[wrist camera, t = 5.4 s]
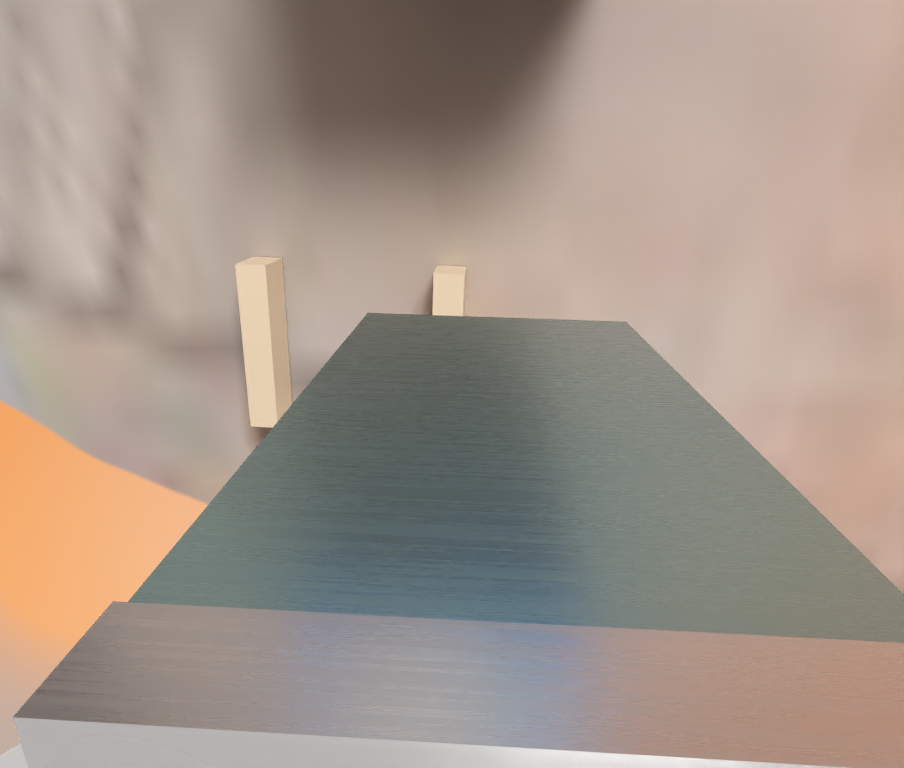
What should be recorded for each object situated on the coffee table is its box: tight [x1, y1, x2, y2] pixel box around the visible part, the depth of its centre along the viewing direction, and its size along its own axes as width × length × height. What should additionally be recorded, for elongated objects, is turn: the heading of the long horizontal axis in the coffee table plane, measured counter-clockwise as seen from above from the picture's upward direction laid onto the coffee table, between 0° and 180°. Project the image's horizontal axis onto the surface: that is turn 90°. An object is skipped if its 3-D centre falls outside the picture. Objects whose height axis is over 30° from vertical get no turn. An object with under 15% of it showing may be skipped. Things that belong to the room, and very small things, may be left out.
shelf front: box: [235, 257, 466, 428], centre depth 24 cm, size 18×9×2 cm, turn 88°
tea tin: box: [13, 313, 904, 768], centre depth 8 cm, size 5×7×9 cm
